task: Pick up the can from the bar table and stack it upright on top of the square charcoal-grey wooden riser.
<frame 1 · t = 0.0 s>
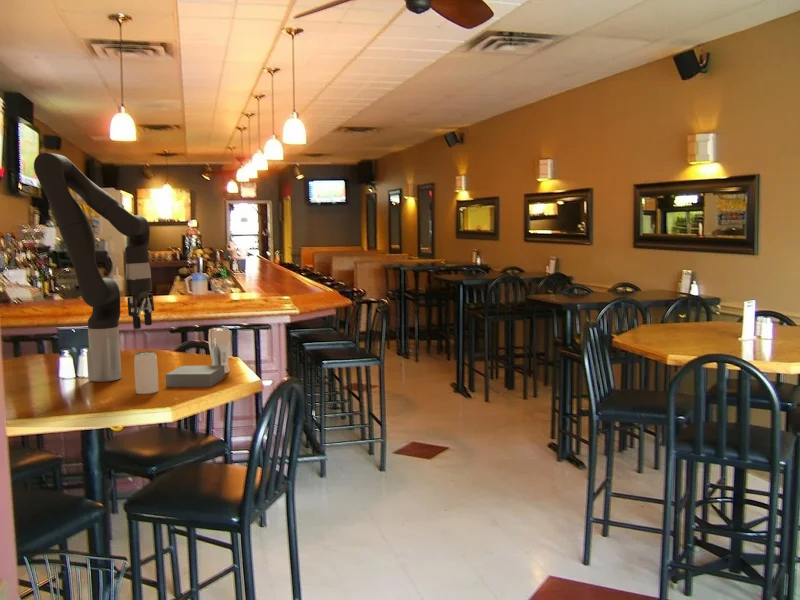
hand: (143, 327, 230), 17 cm above the table, tool pointing down, fingers open, 8 cm apart
beer glass: (220, 373, 240), on the table
riser: (196, 382, 225), on the table
can: (147, 392, 212), on the table
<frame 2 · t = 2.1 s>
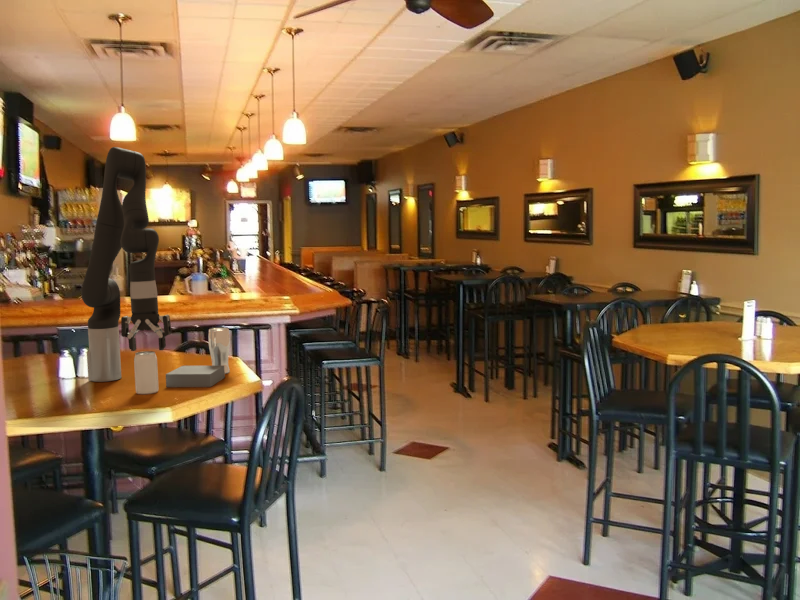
hand: (147, 350, 211), 13 cm above the table, tool pointing down, fingers open, 8 cm apart
nothing on the table moved.
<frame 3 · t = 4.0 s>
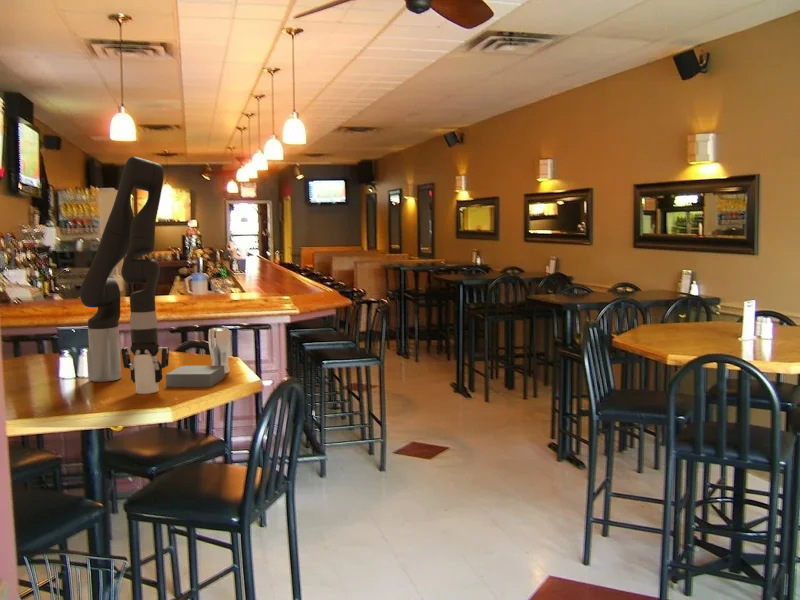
hand: (146, 381, 212), 3 cm above the table, tool pointing down, fingers closed on can, 6 cm apart
can: (147, 392, 212), on the table, touching gripper
everything else where it was.
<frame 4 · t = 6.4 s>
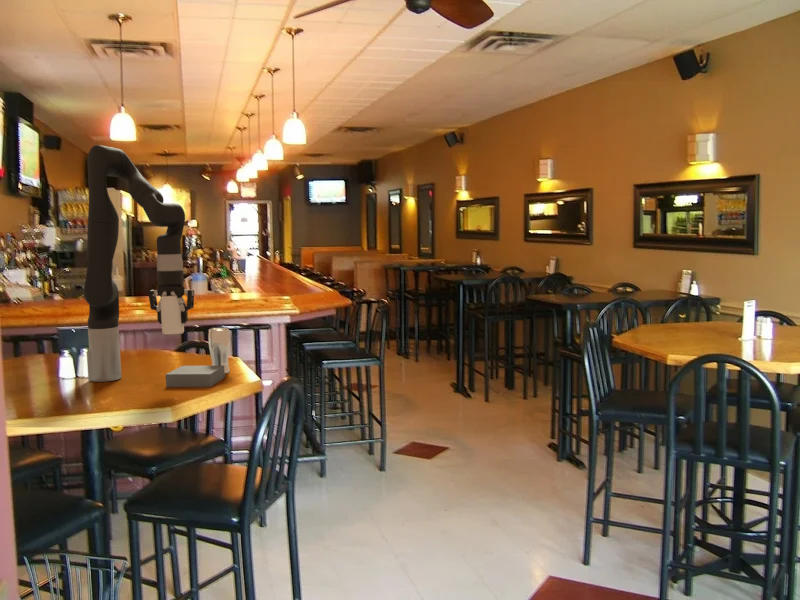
hand: (173, 323, 218), 20 cm above the table, tool pointing down, fingers closed on can, 6 cm apart
can: (173, 334, 218), point 16 cm above the table, touching gripper
everything else where it was.
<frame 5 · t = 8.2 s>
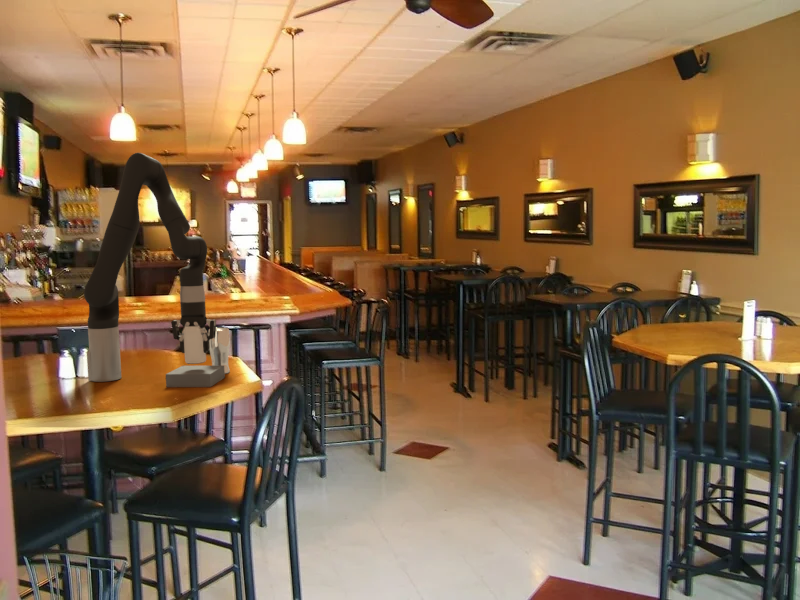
hand: (195, 352, 225), 10 cm above the table, tool pointing down, fingers closed on can, 6 cm apart
can: (195, 362, 225), point 6 cm above the table, touching gripper
everything else where it was.
when the fingers open (9 cm above the table, at t = 9.3 s): can drops 1 cm, resting on riser.
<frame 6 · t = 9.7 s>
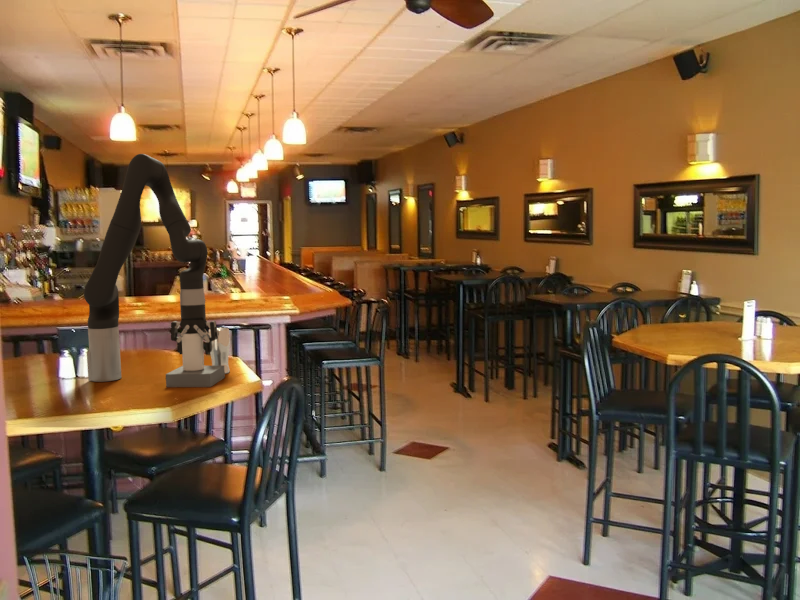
hand: (195, 353, 224), 9 cm above the table, tool pointing down, fingers open, 8 cm apart
can: (193, 370, 225), point 4 cm above the table, touching riser
everything else where it was.
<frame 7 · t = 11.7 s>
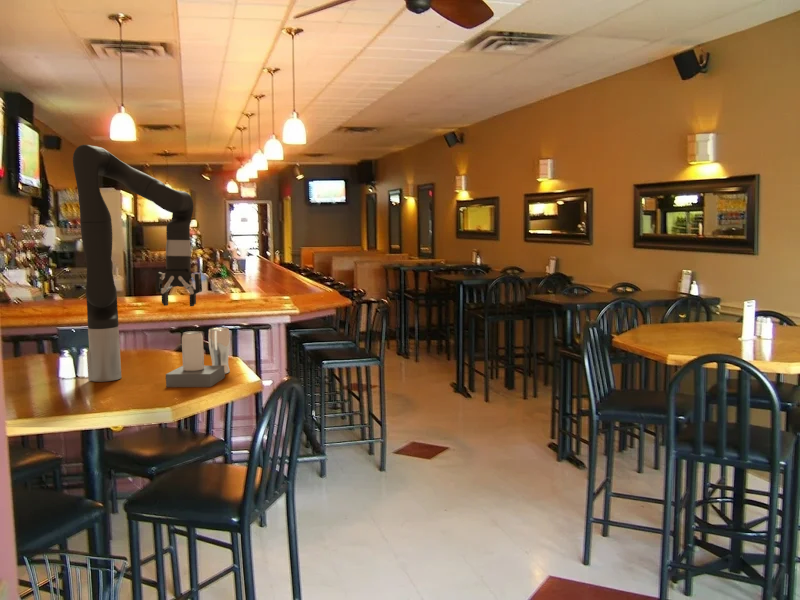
hand: (179, 305, 224), 24 cm above the table, tool pointing down, fingers open, 8 cm apart
nothing on the table moved.
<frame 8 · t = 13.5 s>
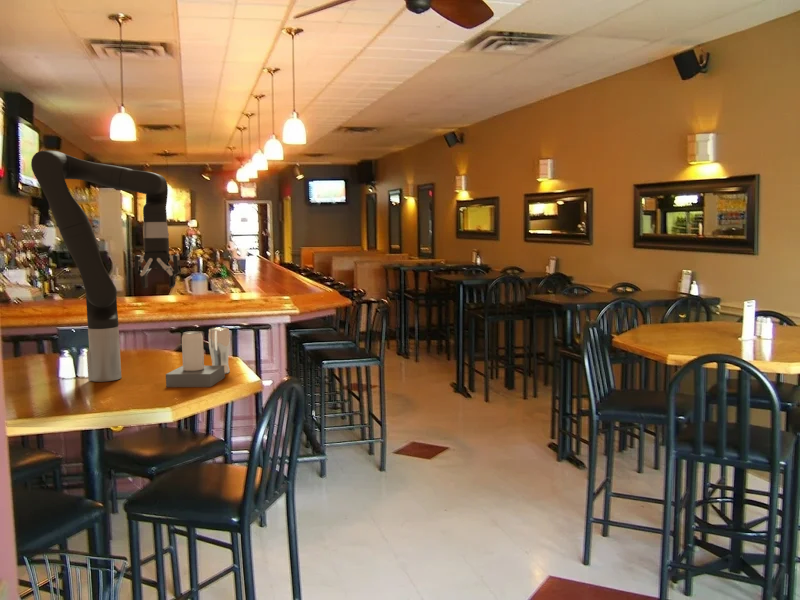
hand: (158, 287, 226), 30 cm above the table, tool pointing down, fingers open, 8 cm apart
nothing on the table moved.
at the end: can inside the target area on the riser (0.7 cm from its centre), point 3.8 cm above the riser's base; can tilted 0°; the gripper is holding nothing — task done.
